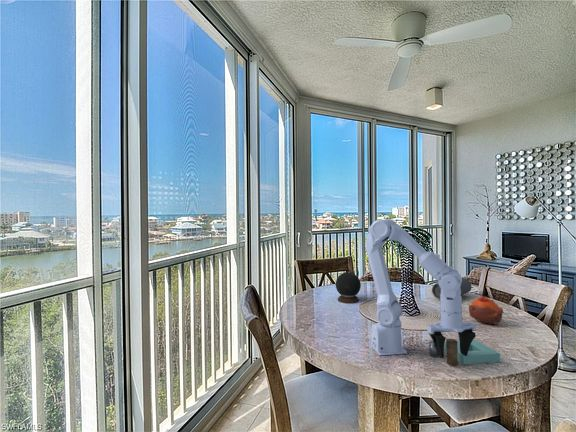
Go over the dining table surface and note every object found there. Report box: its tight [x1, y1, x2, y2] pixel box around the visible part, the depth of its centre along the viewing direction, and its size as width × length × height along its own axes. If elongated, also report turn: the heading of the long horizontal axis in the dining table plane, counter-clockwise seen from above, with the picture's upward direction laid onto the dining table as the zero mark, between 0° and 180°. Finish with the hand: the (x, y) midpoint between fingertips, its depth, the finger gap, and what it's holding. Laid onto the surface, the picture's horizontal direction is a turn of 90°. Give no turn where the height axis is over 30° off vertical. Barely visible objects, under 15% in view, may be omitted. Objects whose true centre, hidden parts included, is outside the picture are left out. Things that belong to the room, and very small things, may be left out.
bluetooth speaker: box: [431, 277, 472, 300], centre depth 161 cm, size 23×9×10 cm, turn 120°
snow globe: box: [335, 271, 362, 305], centre depth 161 cm, size 13×13×15 cm
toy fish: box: [468, 295, 504, 325], centre depth 124 cm, size 12×10×11 cm
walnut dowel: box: [445, 338, 459, 367], centre depth 92 cm, size 3×3×7 cm
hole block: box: [444, 339, 501, 365], centre depth 97 cm, size 12×10×2 cm
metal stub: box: [428, 340, 440, 358], centre depth 98 cm, size 3×3×4 cm
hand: (452, 355), depth 92 cm, fingers open, 7 cm apart
